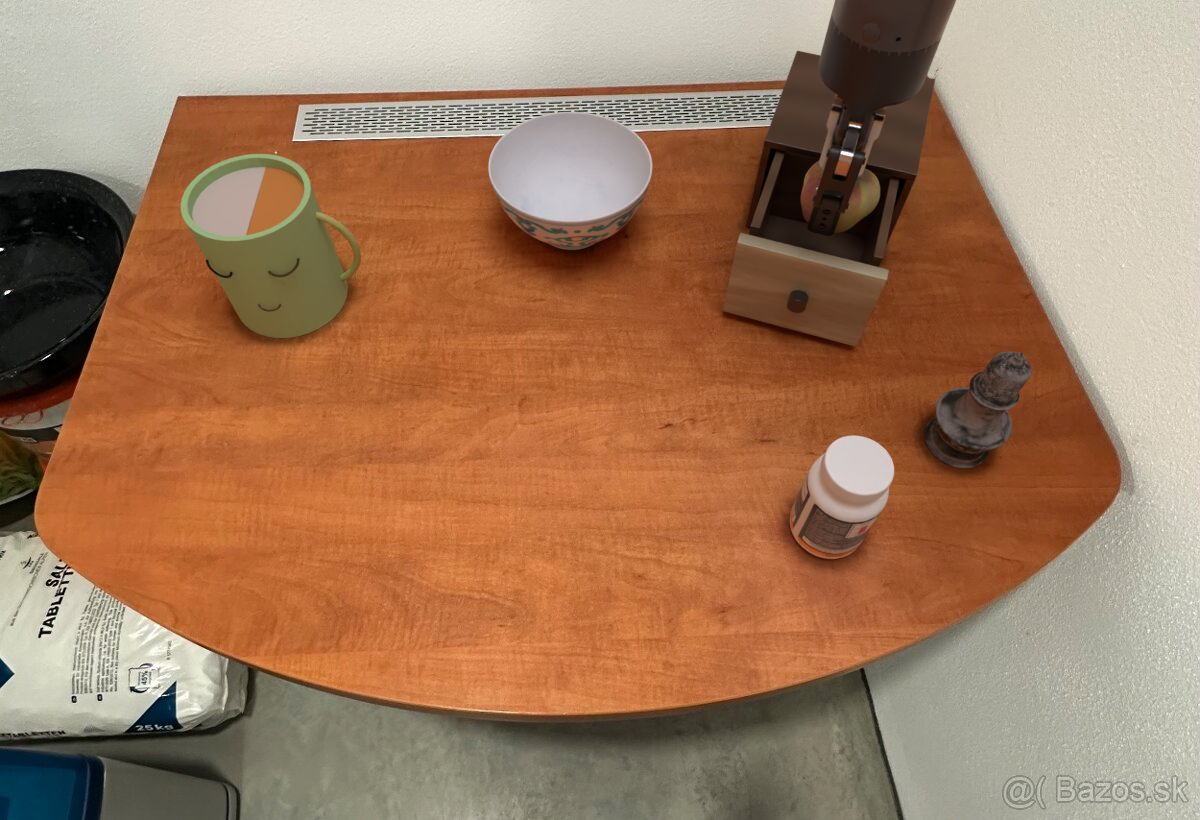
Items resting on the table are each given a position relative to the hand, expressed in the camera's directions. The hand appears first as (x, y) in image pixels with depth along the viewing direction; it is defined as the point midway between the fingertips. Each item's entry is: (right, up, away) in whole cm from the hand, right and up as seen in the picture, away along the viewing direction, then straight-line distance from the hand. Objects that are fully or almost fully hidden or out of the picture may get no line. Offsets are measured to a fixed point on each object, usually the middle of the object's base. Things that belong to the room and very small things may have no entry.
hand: (827, 204), depth 68 cm
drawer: (0, -5, +7) cm, 9 cm away
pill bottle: (-2, -27, -6) cm, 27 cm away
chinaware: (-22, +1, +12) cm, 25 cm away
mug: (-47, -7, +6) cm, 48 cm away
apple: (0, -1, +1) cm, 2 cm away
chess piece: (+10, -20, -1) cm, 23 cm away
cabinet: (+4, +5, +14) cm, 16 cm away
